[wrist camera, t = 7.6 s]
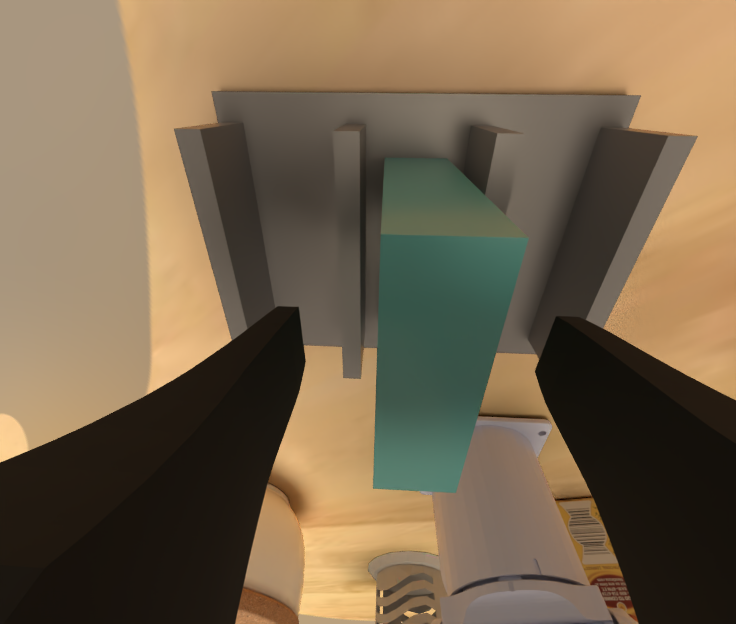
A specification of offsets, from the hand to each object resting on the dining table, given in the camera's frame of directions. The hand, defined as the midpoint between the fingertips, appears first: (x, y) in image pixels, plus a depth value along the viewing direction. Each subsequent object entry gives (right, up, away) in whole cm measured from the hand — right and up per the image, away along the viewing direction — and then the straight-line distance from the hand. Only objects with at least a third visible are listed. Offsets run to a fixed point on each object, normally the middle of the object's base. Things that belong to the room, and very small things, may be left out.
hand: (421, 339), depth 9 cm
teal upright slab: (0, +4, +6) cm, 7 cm away
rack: (0, +4, +6) cm, 8 cm away
